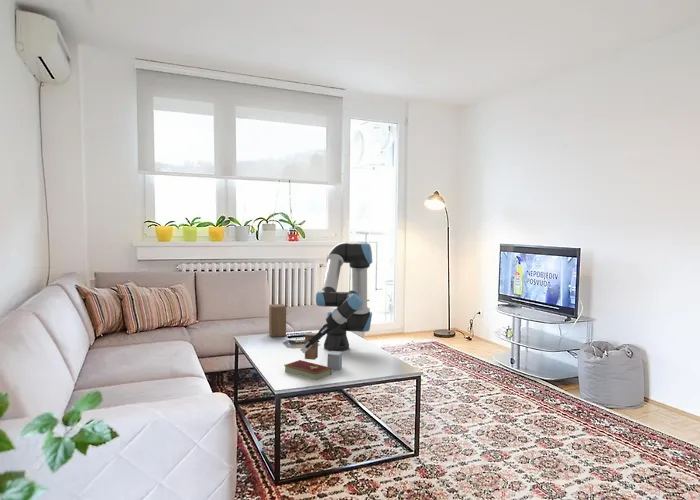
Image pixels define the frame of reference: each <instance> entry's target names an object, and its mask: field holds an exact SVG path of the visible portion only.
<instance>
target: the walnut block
mask: <svg viewBox="0 0 700 500" xmlns="http://www.w3.org/2000/svg"><path fill="white" fill-rule="evenodd" d="M317 333H318V332H307V333H306V334H305V335H304V345H305V344H306V343H307V342H309V341H308V340H311V339H312V338H313V337H314V336H315V335H316V334H317ZM318 344H319V342H318V340H317V341H316V342H315V343H314V344H313V345H312V346H311V347H310V348H309V349H308V350H307V351H306V352H305V353H304V360H311V361H313V360H314V361H315V360H316V359H318V357H319V356H318V355H319V354H318V353H319V345H318Z"/></svg>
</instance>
